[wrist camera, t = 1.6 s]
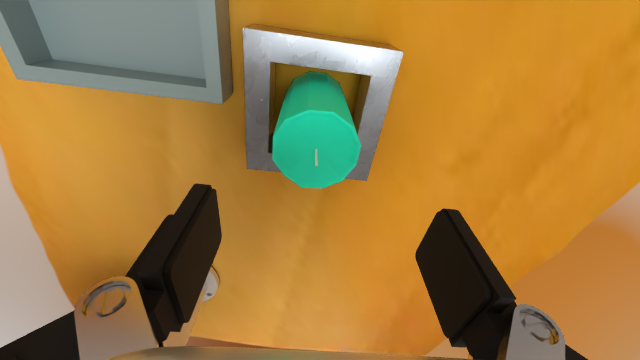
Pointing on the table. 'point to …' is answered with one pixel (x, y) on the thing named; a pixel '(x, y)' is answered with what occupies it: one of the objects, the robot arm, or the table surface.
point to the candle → (315, 133)
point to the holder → (323, 53)
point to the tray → (122, 45)
